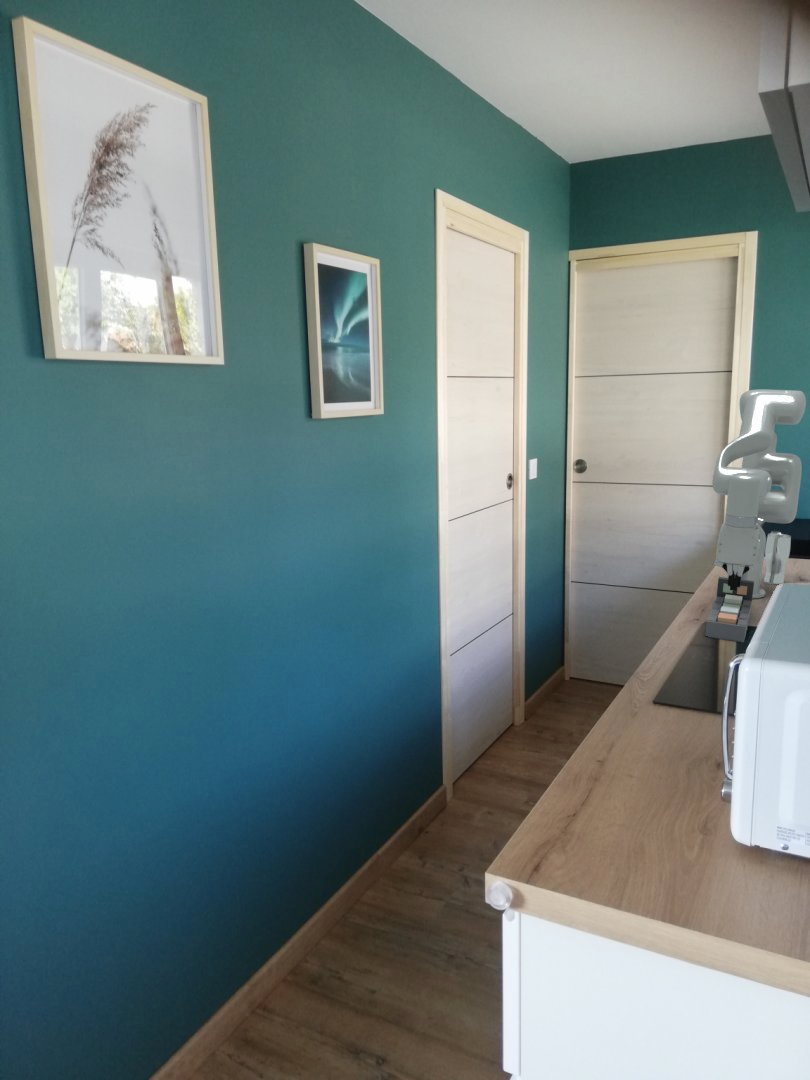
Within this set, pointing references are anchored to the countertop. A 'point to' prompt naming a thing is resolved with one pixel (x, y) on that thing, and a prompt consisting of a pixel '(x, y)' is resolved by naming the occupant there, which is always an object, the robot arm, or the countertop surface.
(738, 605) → the key sage
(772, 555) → the beer glass
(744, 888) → the countertop surface
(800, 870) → the countertop surface
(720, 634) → the keypad
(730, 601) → the key cream
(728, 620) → the key terracotta
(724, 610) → the key grey
